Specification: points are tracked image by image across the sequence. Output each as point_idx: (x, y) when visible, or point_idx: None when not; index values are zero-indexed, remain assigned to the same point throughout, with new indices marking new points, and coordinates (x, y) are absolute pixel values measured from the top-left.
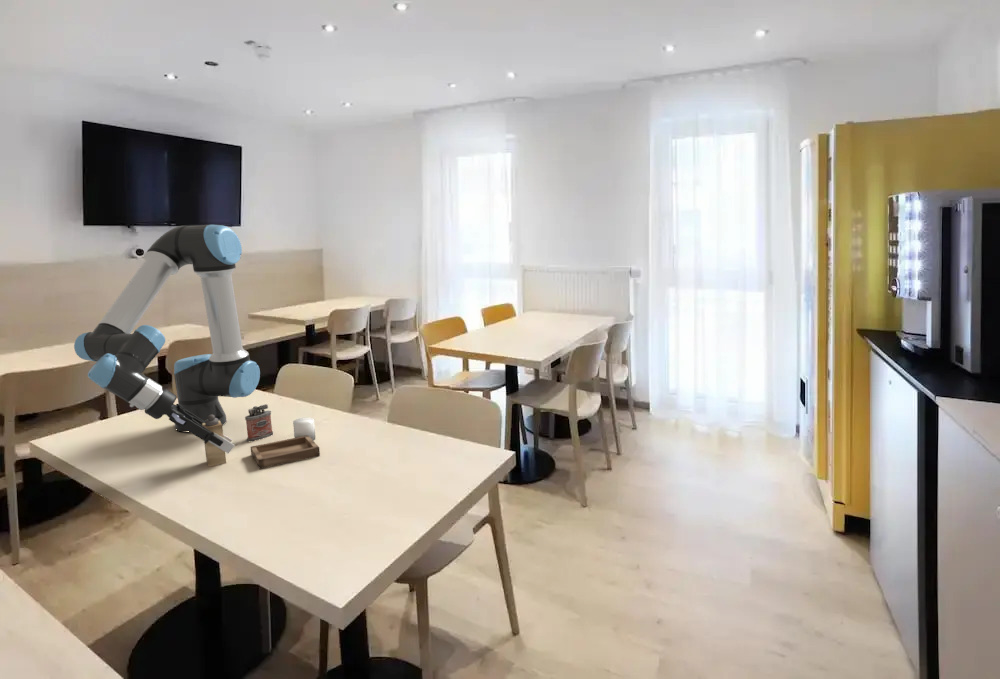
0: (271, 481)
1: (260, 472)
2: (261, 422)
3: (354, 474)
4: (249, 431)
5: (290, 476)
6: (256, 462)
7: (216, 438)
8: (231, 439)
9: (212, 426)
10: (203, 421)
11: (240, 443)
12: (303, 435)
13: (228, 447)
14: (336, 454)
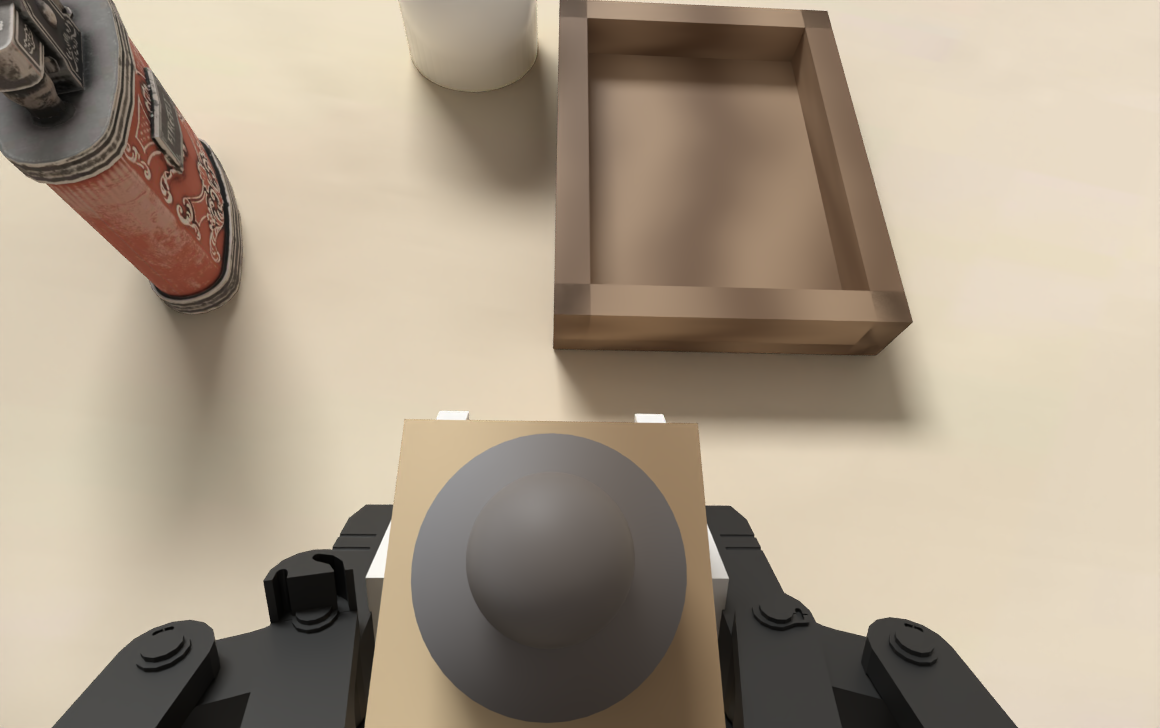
0: (1123, 337)
1: (940, 362)
2: (165, 113)
3: (1129, 25)
4: (177, 247)
5: (1070, 237)
6: (774, 347)
7: (770, 576)
8: (451, 413)
9: (708, 587)
10: (163, 718)
11: (207, 369)
12: (531, 17)
13: None
14: (823, 6)
